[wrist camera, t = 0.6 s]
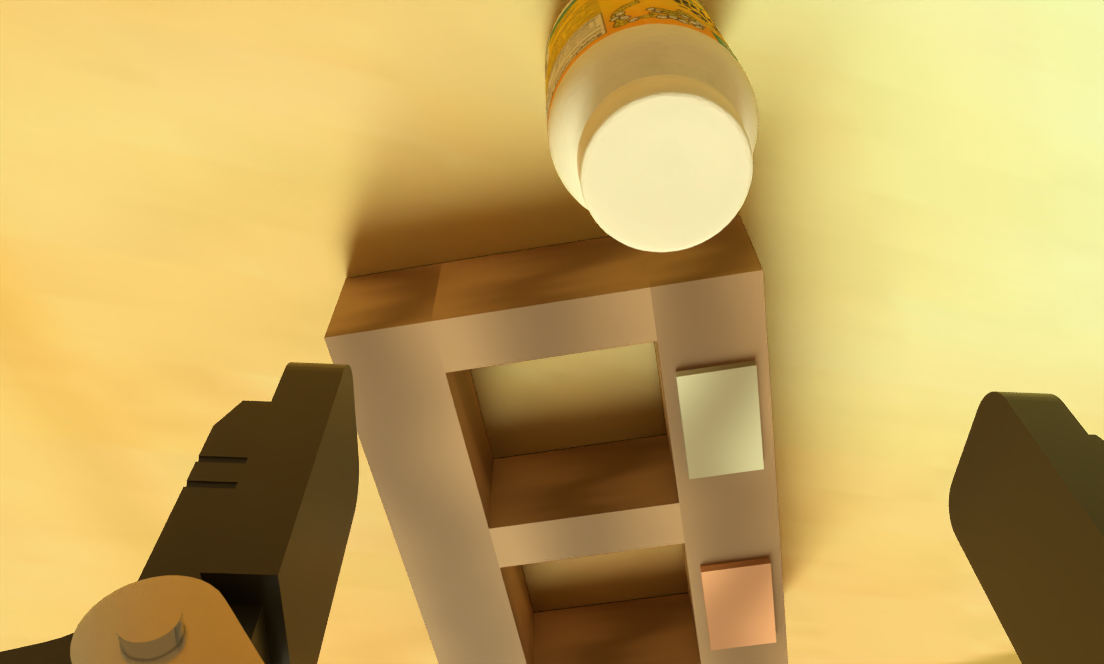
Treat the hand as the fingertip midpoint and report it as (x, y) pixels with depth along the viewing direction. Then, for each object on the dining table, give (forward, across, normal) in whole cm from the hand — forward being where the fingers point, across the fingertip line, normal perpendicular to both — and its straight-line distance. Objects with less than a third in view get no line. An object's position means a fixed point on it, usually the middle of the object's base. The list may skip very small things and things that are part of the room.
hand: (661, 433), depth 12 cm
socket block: (+20, -1, +17) cm, 27 cm away
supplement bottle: (+20, -1, +1) cm, 21 cm away
